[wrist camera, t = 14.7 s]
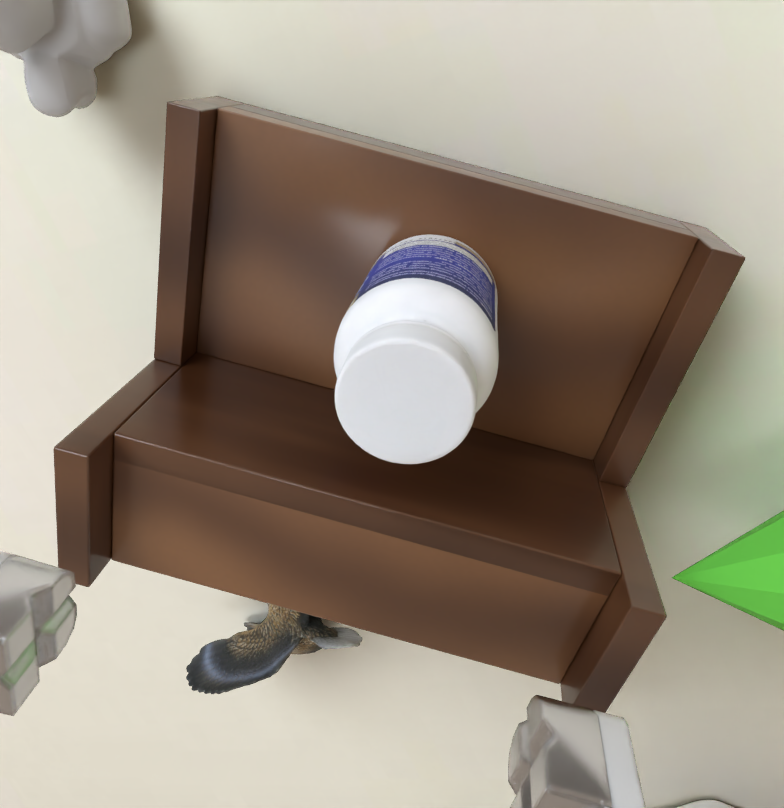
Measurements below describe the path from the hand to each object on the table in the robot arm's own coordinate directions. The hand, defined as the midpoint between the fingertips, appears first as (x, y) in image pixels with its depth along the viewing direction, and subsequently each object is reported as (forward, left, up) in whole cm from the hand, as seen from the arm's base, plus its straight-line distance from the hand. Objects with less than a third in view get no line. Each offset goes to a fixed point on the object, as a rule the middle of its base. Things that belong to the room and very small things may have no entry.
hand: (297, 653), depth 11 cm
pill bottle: (-1, -1, -17) cm, 17 cm away
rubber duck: (+15, -7, -20) cm, 26 cm away
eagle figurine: (+3, +20, -20) cm, 29 cm away
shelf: (0, +2, -20) cm, 20 cm away
